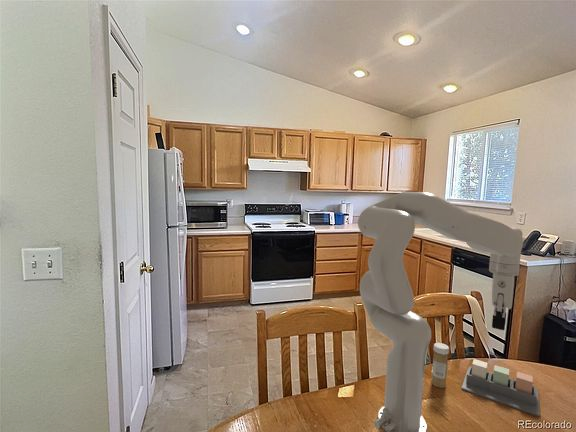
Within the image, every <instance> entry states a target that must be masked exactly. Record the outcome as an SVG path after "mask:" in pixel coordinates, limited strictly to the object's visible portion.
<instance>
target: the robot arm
mask: <svg viewBox="0 0 576 432" xmlns="http://www.w3.org/2000/svg"><path fill="white" fill-rule="evenodd" d="M357 219H358V220H357V226H358V229H359V231H360V233H361V234H362V235H364V236H365V237H367V238H369V239H373V240H375V242H374V243H373V245H372V247H371V249H370V252H369V254H368V258H367V266H368V271H366V272H365V273H364V274H363V275H362V277H361V279H360V282H359V294H360V296H361V300H362V302H363V305H364V308H365V310H366V313H367V316H368V318H369V320H370V323H371V324H372V326H373V328H374V329H376V330H377V331H378V332H379V333H381V334H382V335H383V336H385V337H386V338H388V339H389V340H390V341H391V342H392V343H393V347H392V349H391V350H390V351H389V353H388V354H387V358H386V372H385V386H384V387H385V388H384V404H383V405H384V406H382V407H381V408H380V409H379V410H378V412H377V418H376V419H375V420H374V421H373V427H374V428H375V429H377V430H378V429H380V428H382V429H383V430H384V431H385V432H427V428H428V427H427V426H428V425H427V423H426V420H425V419H424V417H423V416H422V409H423V408H422V407H423V391H424V381H425V379H424V378H425V365H426V357H427V352H428V349H429V346H430V342H431V339H432V329H431V326H430V325H429V323H428V322H427V321H426V319H424V317H422V316H420V315H419V314H418V313H415V312H414V311H412V310H413V308H414V305H415V297H414V293H413V289H412V286H411V283H410V280H409V276H408V274H407V271H406V268H405V265H404V255H405V254H404V253H405V251H406V248H408V247H407V246H408V245H409V243H410V241H412V238H413V236H414V235H415V231H416V230H415V228H416V225H420V226H422V227H425V228H427V229H429V230H432V231H434V232H436V233H439V234H440V235H442V236H445V237H446V238H449V239H452V240H456V241H459V242H464V243H466V245H467V246H468V247H469V248H470V249H472V250H474V251H477V252H483V253H486V254H490V255H489V257H490V258H489V265H488V266H489V267H488V271H489V272H490V273H492V285H491V305H493V308H494V309H493V314H492V321H491V328H492V329H497V330H500V331H505V329H506V327H505V326H506V321H507V312H506V311H507V308H508V310H511V309H512V307H513V300H514V299H513V298H514V287H515V277H517V276H519V275H520V265H521V254H522V250H523V246H524V241H523V232H522V230H521V229H520V228H518V227H511V226H509V225H507V224H504V223H503V222H500V221H497V220H494V219H493V218H492V219H491V218H489V217H487V216H486V217H485V216H482V215H480V214H477V213H474V212H471V211H468V210H465V209H463V208H461V207H459V206H457V205H456V204H453V203H451V202H449V201H447V200H446V199H443V197H439V195H435V194H433V193H430V192H424V191H423V192H422V191H404V192H400V193H397V194H394V195H392V196H389V197H388V198H385V199H383V200H381V201H379V202H376V203H374V204H372V205H370V206H367V207H366V208H364V209H363V210H362V211H361V213H360V214H359V217H358V218H357Z"/></svg>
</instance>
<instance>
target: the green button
mask: <svg viewBox="0 0 576 432" xmlns="http://www.w3.org/2000/svg"><path fill="white" fill-rule="evenodd" d="M492 373H493V382H495V383H498V384H501V385H504V386H507V387H508V378H509V377H510V369H509V368H506V367H502V366H499V365H495V364H494V367H493V372H492Z"/></svg>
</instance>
